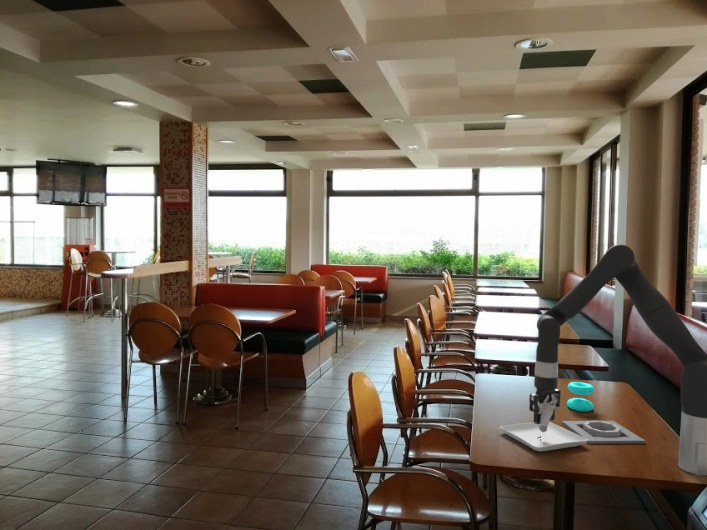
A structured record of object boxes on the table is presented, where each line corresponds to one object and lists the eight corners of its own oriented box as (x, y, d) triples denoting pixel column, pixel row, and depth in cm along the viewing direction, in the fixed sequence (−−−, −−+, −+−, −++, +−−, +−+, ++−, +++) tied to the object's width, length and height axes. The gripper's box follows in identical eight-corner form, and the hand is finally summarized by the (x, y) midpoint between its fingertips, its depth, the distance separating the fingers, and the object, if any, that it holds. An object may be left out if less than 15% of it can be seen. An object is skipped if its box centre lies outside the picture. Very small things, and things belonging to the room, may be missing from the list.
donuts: (571, 387, 223) (564, 380, 233) (570, 411, 223) (563, 404, 233) (597, 388, 222) (589, 381, 232) (596, 413, 222) (588, 405, 232)
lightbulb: (556, 434, 189) (557, 402, 189) (541, 436, 187) (542, 403, 187) (544, 428, 195) (546, 397, 195) (530, 430, 193) (531, 398, 193)
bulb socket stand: (645, 443, 190) (645, 436, 190) (588, 443, 189) (588, 436, 188) (613, 423, 210) (613, 416, 210) (561, 423, 208) (562, 417, 208)
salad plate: (497, 434, 198) (498, 425, 197) (546, 428, 205) (547, 419, 205) (537, 457, 178) (537, 447, 178) (589, 450, 185) (590, 439, 185)
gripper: (542, 379, 183) (540, 428, 184) (568, 373, 191) (566, 421, 192) (523, 374, 189) (521, 422, 190) (549, 369, 197) (547, 415, 198)
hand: (544, 421), depth 191 cm, fingers open, 7 cm apart
